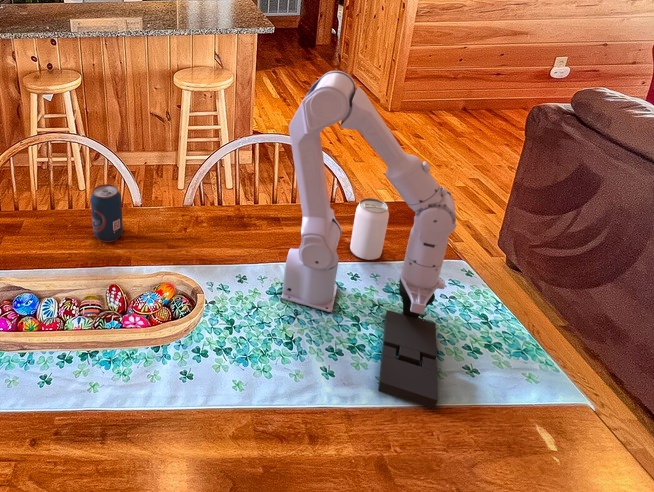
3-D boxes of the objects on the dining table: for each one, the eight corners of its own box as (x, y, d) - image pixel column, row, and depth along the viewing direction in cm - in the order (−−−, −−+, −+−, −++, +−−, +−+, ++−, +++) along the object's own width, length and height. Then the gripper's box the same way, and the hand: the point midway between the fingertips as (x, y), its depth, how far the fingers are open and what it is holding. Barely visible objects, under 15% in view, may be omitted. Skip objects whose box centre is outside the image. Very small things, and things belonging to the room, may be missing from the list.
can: (383, 262, 108) (393, 214, 103) (351, 259, 109) (359, 211, 104) (378, 244, 113) (387, 198, 108) (347, 241, 114) (355, 195, 110)
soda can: (87, 234, 119) (83, 190, 114) (111, 222, 123) (108, 179, 118) (105, 247, 114) (102, 202, 109) (129, 234, 119) (127, 190, 114)
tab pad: (381, 358, 85) (383, 349, 84) (384, 317, 93) (386, 309, 93) (434, 374, 82) (437, 365, 81) (433, 331, 90) (435, 322, 89)
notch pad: (378, 390, 80) (380, 381, 79) (381, 353, 86) (383, 344, 85) (435, 409, 76) (437, 400, 76) (434, 369, 83) (436, 360, 82)
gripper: (452, 289, 79) (435, 353, 85) (448, 238, 91) (433, 297, 97) (403, 277, 82) (389, 340, 87) (405, 229, 94) (393, 287, 99)
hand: (409, 317), depth 92 cm, fingers closed
